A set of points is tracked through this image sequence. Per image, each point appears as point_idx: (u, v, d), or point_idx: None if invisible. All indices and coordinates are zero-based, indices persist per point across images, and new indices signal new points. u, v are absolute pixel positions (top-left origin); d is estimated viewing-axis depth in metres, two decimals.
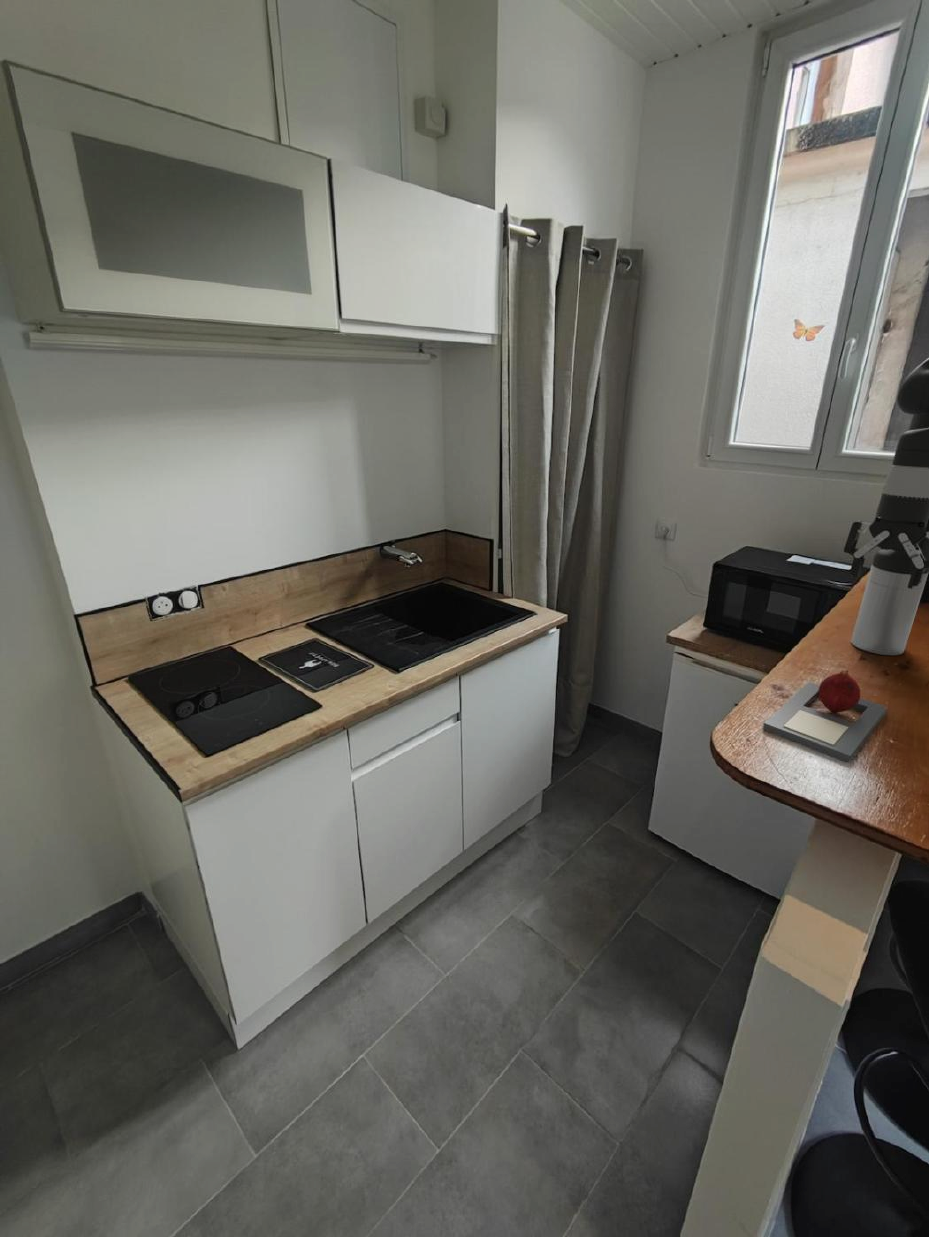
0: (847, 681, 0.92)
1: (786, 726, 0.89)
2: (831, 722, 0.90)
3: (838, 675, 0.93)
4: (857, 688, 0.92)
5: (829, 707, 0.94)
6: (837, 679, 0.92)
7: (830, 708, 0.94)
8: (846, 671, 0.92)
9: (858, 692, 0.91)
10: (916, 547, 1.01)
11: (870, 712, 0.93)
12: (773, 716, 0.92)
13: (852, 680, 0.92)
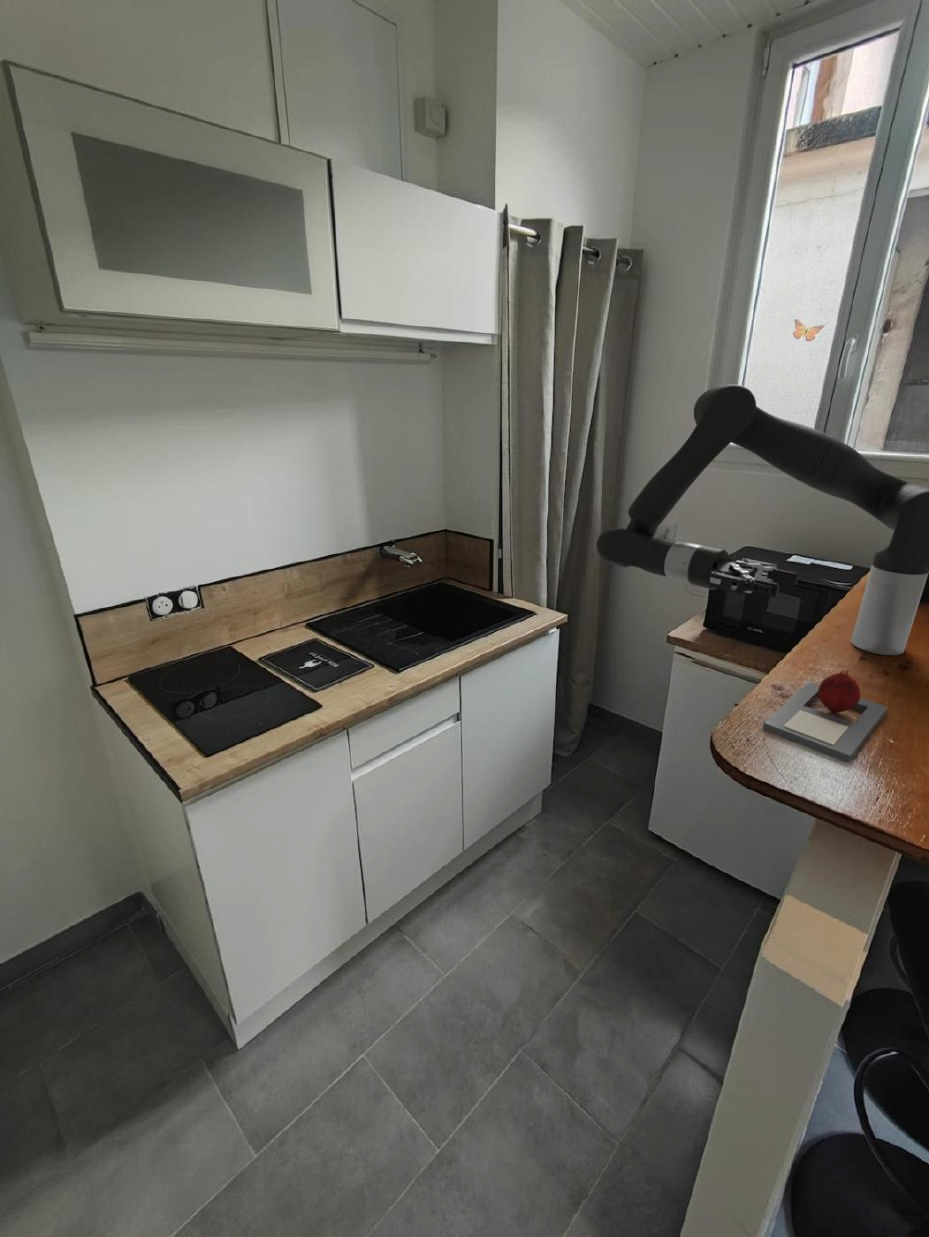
0: (847, 681, 0.92)
1: (786, 726, 0.89)
2: (831, 722, 0.90)
3: (838, 675, 0.93)
4: (857, 688, 0.92)
5: (829, 707, 0.94)
6: (837, 679, 0.92)
7: (830, 708, 0.94)
8: (846, 671, 0.92)
9: (858, 692, 0.91)
10: None
11: (870, 712, 0.93)
12: (773, 716, 0.92)
13: (852, 680, 0.92)
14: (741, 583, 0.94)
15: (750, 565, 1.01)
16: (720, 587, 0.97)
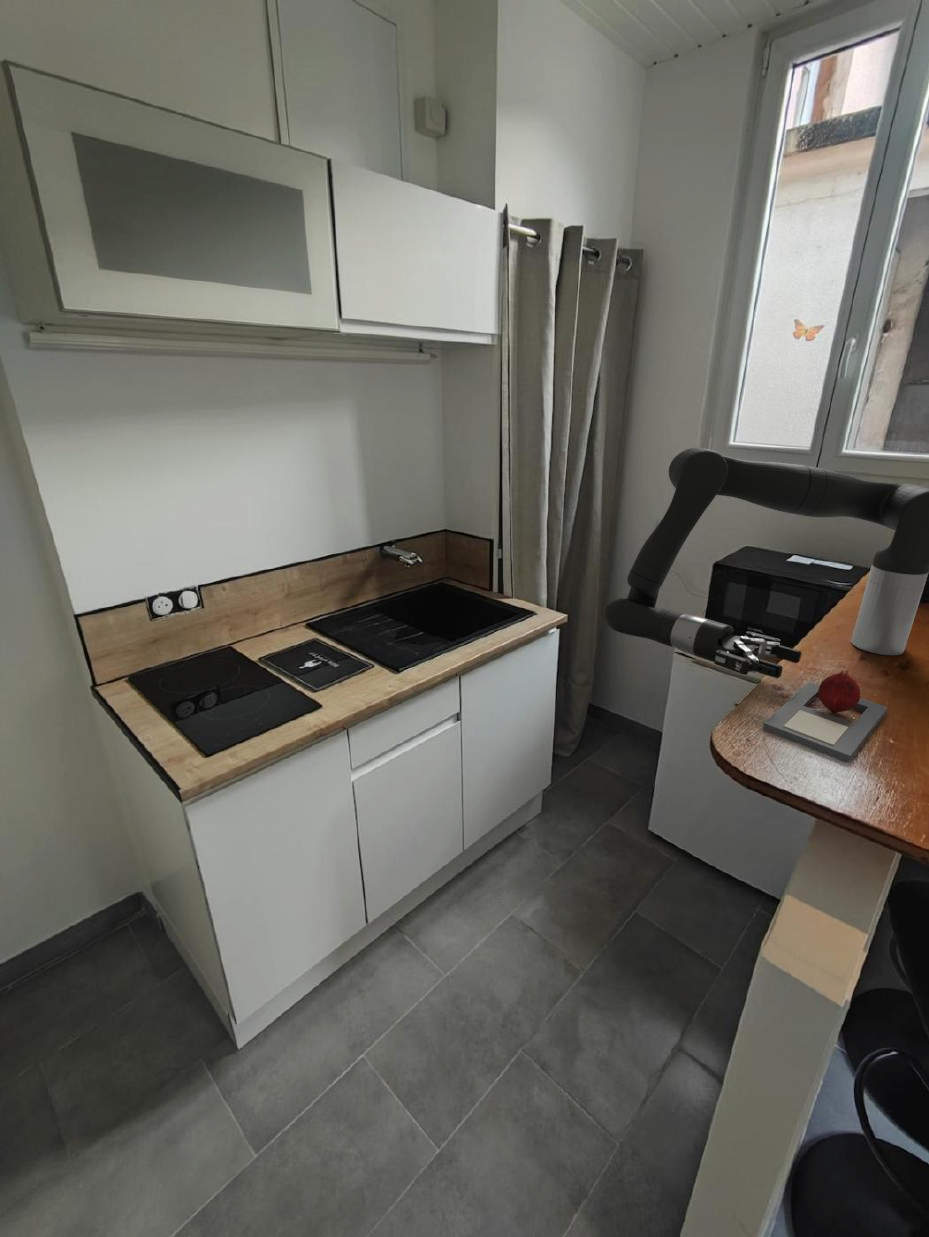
0: (847, 681, 0.92)
1: (786, 726, 0.89)
2: (831, 722, 0.90)
3: (838, 675, 0.93)
4: (857, 688, 0.92)
5: (829, 707, 0.94)
6: (837, 679, 0.92)
7: (830, 708, 0.94)
8: (846, 671, 0.92)
9: (858, 692, 0.91)
10: (743, 651, 1.01)
11: (870, 712, 0.93)
12: (773, 716, 0.92)
13: (852, 680, 0.92)
14: (745, 664, 0.97)
15: (754, 641, 1.04)
16: (725, 666, 1.00)
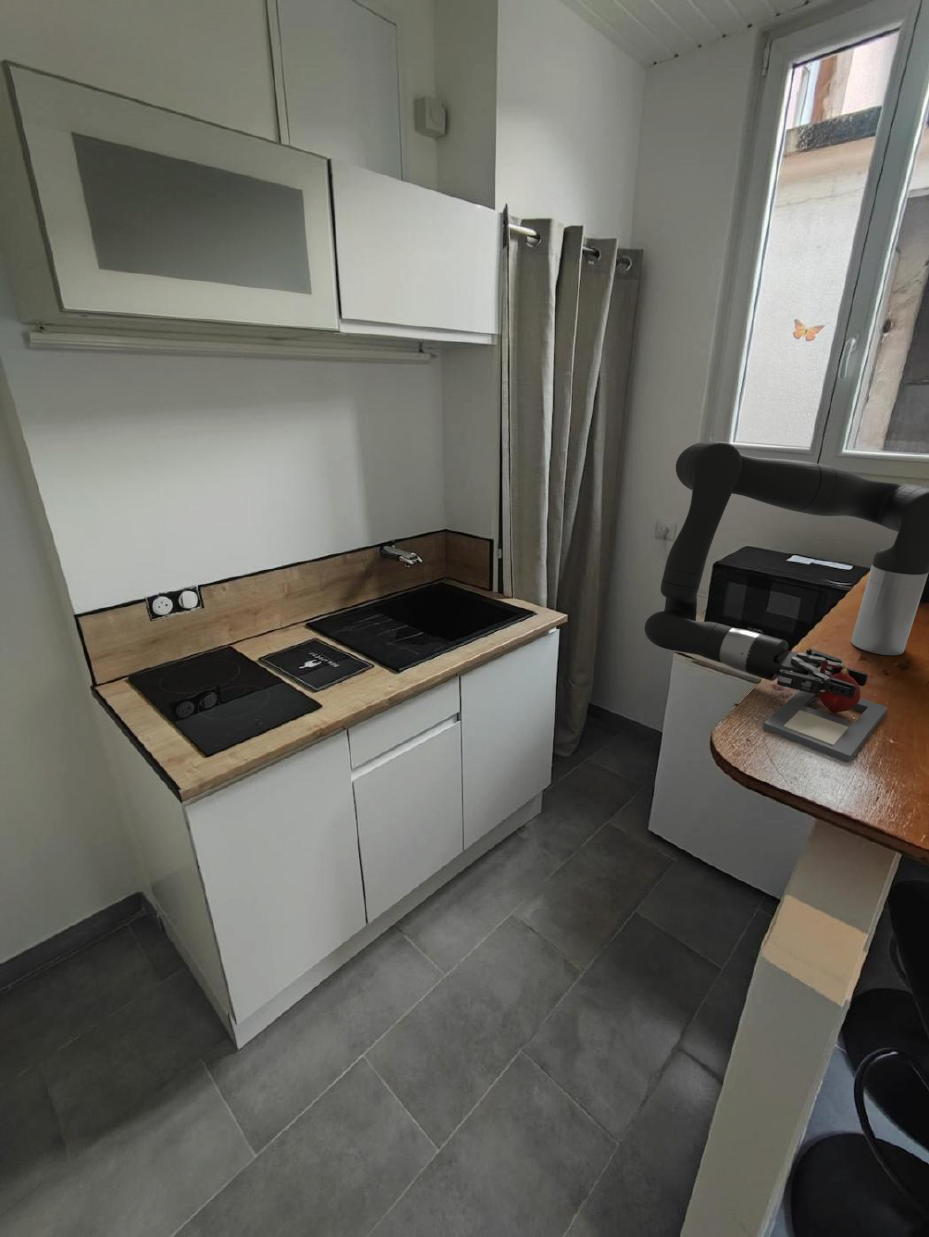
0: (847, 681, 0.92)
1: (786, 726, 0.89)
2: (831, 722, 0.90)
3: (838, 675, 0.93)
4: (857, 688, 0.92)
5: (829, 707, 0.94)
6: None
7: (830, 708, 0.94)
8: (846, 671, 0.92)
9: (858, 692, 0.91)
10: (807, 669, 0.94)
11: (870, 712, 0.93)
12: (773, 716, 0.92)
13: (852, 680, 0.92)
14: (817, 683, 0.91)
15: (812, 659, 0.97)
16: (792, 686, 0.93)
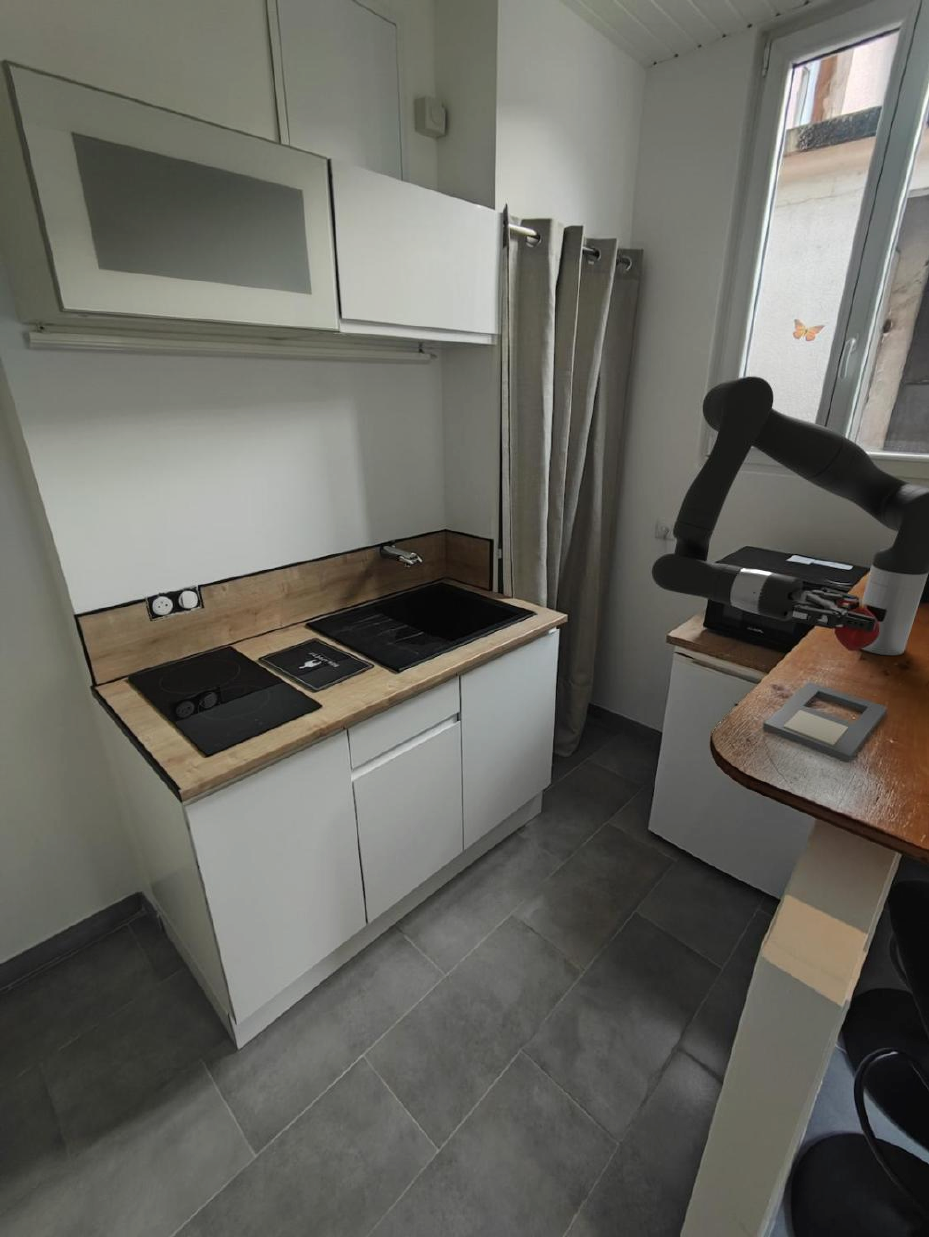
0: (866, 615, 0.87)
1: (786, 726, 0.89)
2: (831, 722, 0.90)
3: (856, 610, 0.88)
4: (876, 623, 0.87)
5: (846, 644, 0.89)
6: None
7: (847, 645, 0.89)
8: (864, 605, 0.88)
9: (877, 627, 0.87)
10: (823, 605, 0.90)
11: (870, 712, 0.93)
12: (773, 716, 0.92)
13: (871, 614, 0.88)
14: (834, 616, 0.86)
15: (828, 596, 0.93)
16: (807, 622, 0.89)
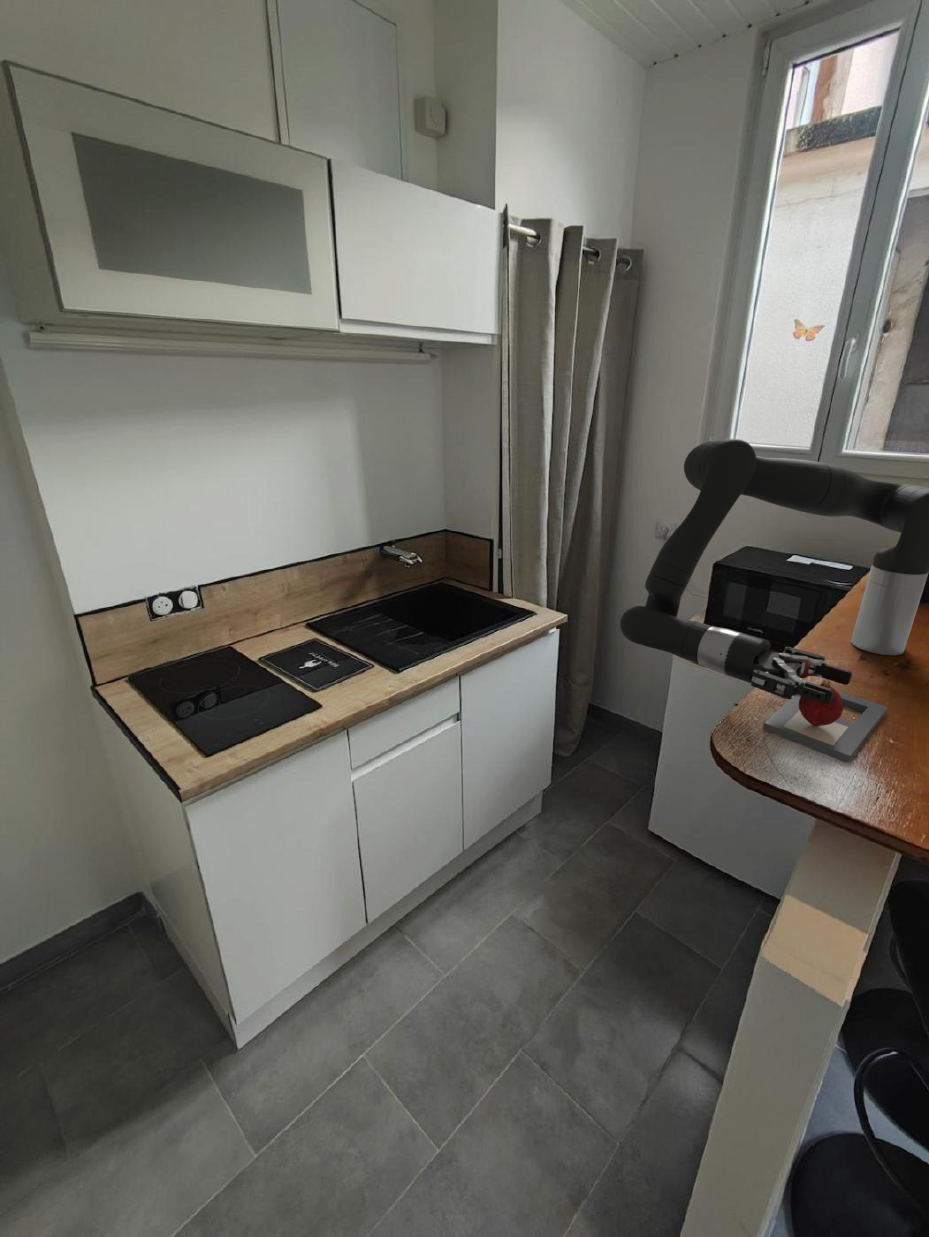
0: None
1: (786, 726, 0.89)
2: None
3: None
4: (839, 700, 0.85)
5: (810, 720, 0.87)
6: None
7: (811, 721, 0.87)
8: (828, 682, 0.86)
9: (840, 705, 0.85)
10: None
11: (870, 712, 0.93)
12: (773, 716, 0.92)
13: (834, 692, 0.85)
14: (789, 687, 0.83)
15: (796, 659, 0.90)
16: (764, 688, 0.86)
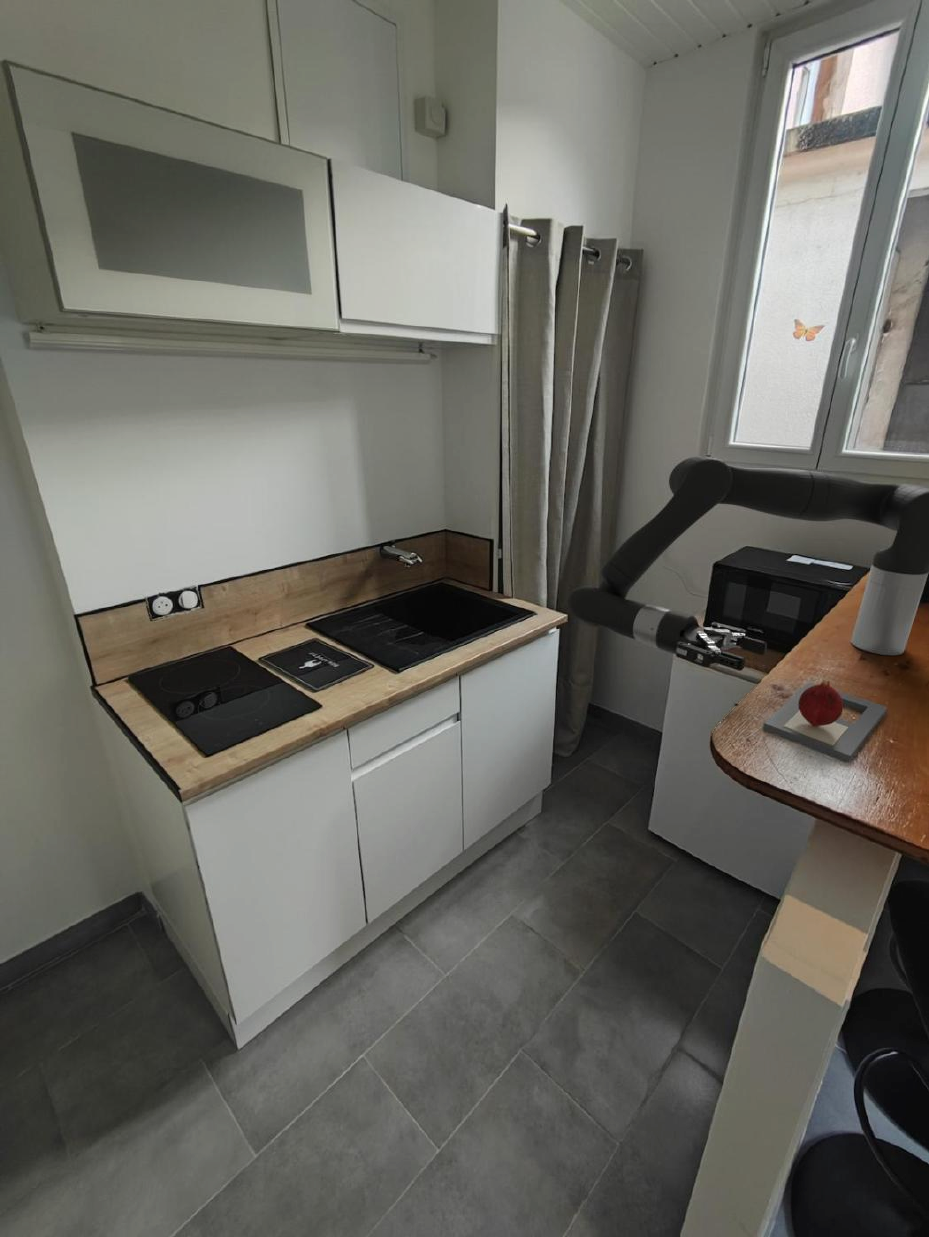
0: (828, 692, 0.85)
1: (786, 726, 0.89)
2: None
3: (819, 686, 0.86)
4: (839, 700, 0.85)
5: (810, 720, 0.87)
6: (818, 691, 0.86)
7: (811, 721, 0.87)
8: (828, 682, 0.86)
9: (840, 705, 0.85)
10: None
11: (870, 712, 0.93)
12: (773, 716, 0.92)
13: (834, 692, 0.85)
14: (706, 656, 0.92)
15: (718, 632, 0.99)
16: (686, 658, 0.95)
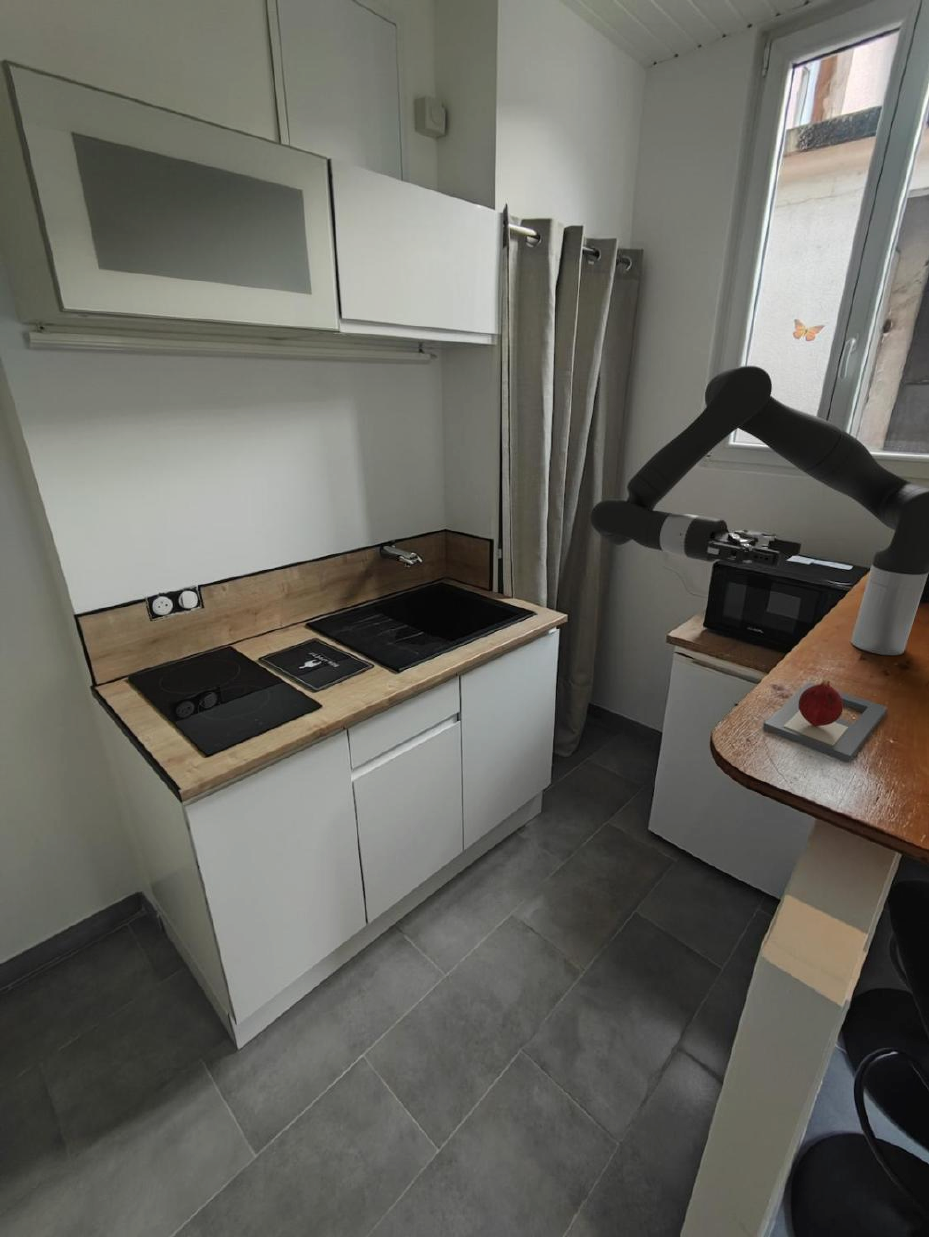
0: (828, 692, 0.85)
1: (786, 726, 0.89)
2: None
3: (819, 686, 0.86)
4: (839, 700, 0.85)
5: (810, 720, 0.87)
6: (818, 691, 0.86)
7: (811, 721, 0.87)
8: (828, 682, 0.86)
9: (840, 705, 0.85)
10: None
11: (870, 712, 0.93)
12: (773, 716, 0.92)
13: (834, 692, 0.85)
14: (740, 551, 0.89)
15: (750, 535, 0.96)
16: (718, 557, 0.92)
